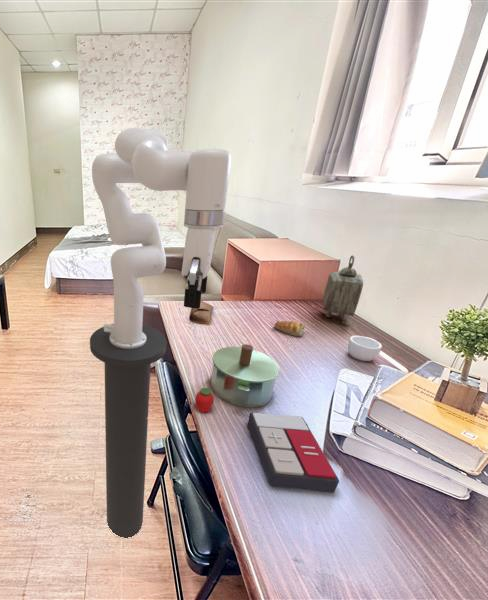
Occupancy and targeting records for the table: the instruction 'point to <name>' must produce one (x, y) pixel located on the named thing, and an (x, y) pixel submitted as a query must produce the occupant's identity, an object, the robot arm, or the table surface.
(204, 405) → the strawberry
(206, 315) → the sunglasses case
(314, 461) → the calculator
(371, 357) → the teacup
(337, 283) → the tabletop clock
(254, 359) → the lid
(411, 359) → the table surface
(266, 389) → the tin
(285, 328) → the pastry
